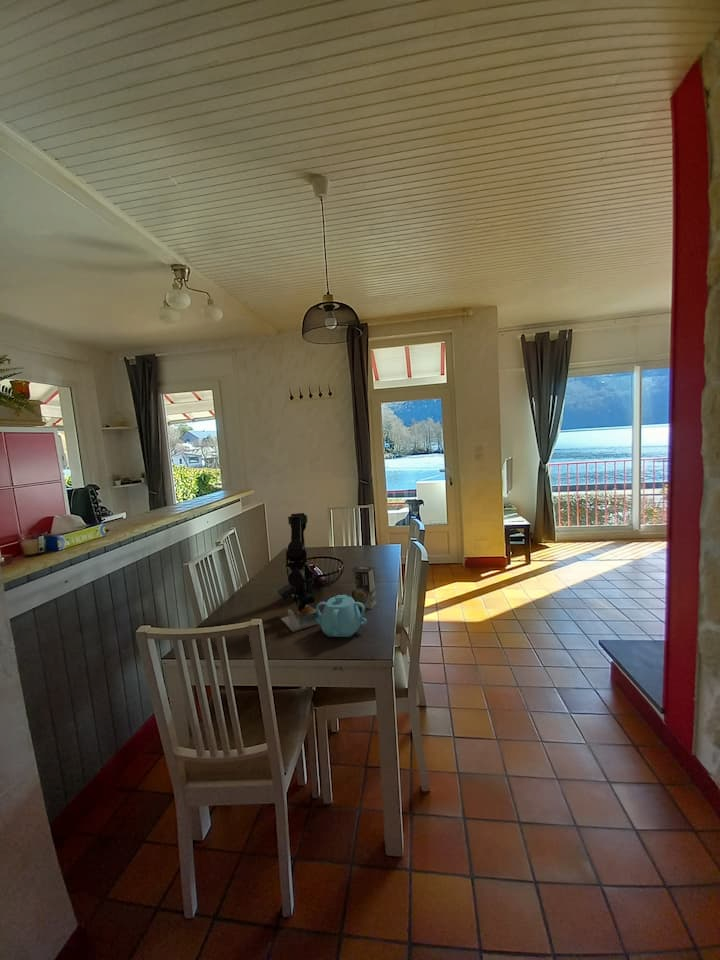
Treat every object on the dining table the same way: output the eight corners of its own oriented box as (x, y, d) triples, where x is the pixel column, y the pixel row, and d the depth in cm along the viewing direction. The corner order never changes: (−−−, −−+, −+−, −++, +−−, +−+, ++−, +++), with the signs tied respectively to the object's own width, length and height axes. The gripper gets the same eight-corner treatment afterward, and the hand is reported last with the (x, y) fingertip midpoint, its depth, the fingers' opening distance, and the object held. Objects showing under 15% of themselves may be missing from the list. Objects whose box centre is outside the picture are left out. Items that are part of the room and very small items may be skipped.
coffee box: (377, 603, 169) (374, 567, 167) (371, 609, 163) (368, 572, 162) (358, 601, 173) (355, 565, 171) (352, 606, 167) (349, 570, 165)
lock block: (309, 617, 159) (308, 606, 159) (316, 622, 154) (315, 612, 153) (297, 620, 157) (297, 610, 156) (305, 626, 151) (304, 615, 150)
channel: (315, 610, 166) (314, 599, 165) (328, 621, 155) (327, 608, 154) (281, 620, 158) (280, 608, 158) (292, 632, 147) (291, 619, 147)
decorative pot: (371, 633, 142) (369, 597, 141) (331, 646, 134) (328, 608, 133) (351, 618, 156) (349, 585, 155) (314, 628, 149) (311, 594, 148)
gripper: (271, 575, 162) (274, 611, 163) (286, 588, 146) (290, 628, 147) (296, 569, 167) (299, 604, 169) (314, 581, 151) (316, 620, 153)
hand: (300, 613), depth 159 cm, fingers closed
